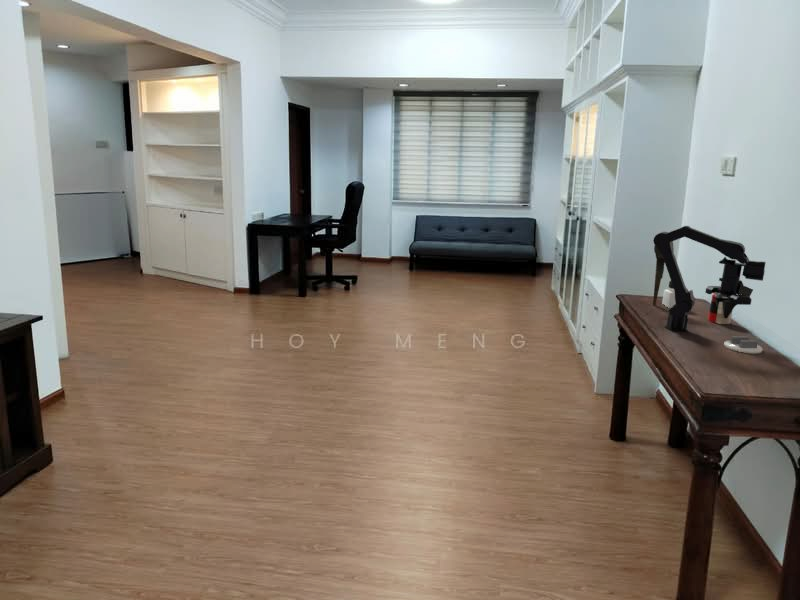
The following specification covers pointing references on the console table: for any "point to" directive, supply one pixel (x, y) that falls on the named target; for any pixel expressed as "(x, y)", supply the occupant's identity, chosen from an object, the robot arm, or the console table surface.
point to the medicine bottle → (669, 296)
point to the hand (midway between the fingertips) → (723, 317)
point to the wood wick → (722, 315)
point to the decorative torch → (658, 273)
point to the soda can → (713, 310)
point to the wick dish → (743, 345)
